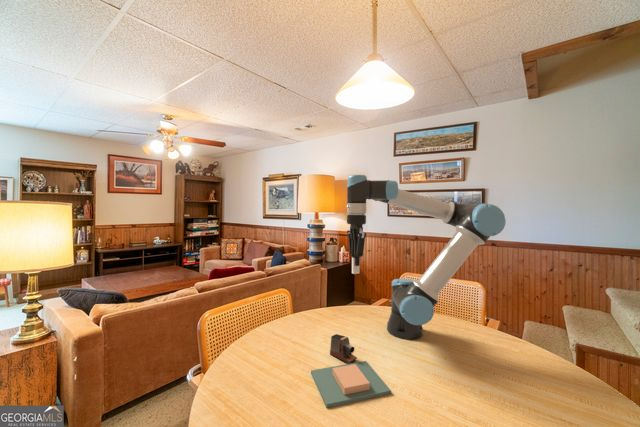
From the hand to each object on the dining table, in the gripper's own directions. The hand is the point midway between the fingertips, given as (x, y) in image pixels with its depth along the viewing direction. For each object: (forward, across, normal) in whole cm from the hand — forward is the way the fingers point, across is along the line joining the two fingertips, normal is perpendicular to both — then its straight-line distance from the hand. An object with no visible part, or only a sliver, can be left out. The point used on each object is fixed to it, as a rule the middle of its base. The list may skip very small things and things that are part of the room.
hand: (355, 273), depth 108 cm
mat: (+28, +22, -12) cm, 38 cm away
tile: (+26, +18, -12) cm, 34 cm away
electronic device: (+29, +8, -8) cm, 31 cm away
